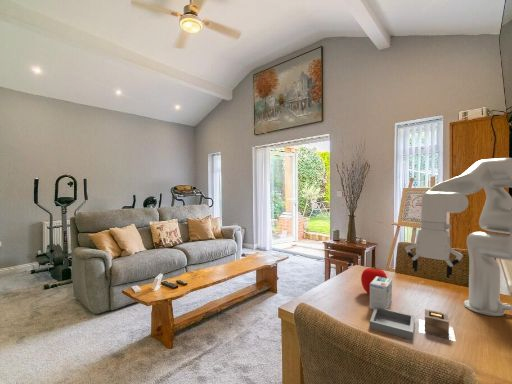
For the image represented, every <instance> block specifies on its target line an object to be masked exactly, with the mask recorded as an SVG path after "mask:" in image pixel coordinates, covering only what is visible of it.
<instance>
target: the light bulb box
mask: <svg viewBox="0 0 512 384" xmlns="http://www.w3.org/2000/svg"><path fill="white" fill-rule="evenodd" d="M392 295H393V279H392V278H388V277H387V278H382V277H377V276H376V277H375V278H374V280H373V281H372V282H371V283H370V294H369V309H372V310H374V309H375V307H380V308H384V309H388V310H389V307H390V305H391V303H393V301H392V300H393V299H392V298H393V297H392Z"/></svg>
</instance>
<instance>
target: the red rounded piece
mask: <svg viewBox="0 0 512 384" xmlns="http://www.w3.org/2000/svg"><path fill="white" fill-rule="evenodd" d="M376 276H377V277H382V278H388V275H387V273H386V272H385V271H384V270H382V268H377V267H376V266H374V267H367V268H365V269H364V270H363V271H362V273H361V275H360V281H361V285H362V288H363V289H364V291H365V293H367V294H368V295H370V283H371V282H372V281H373V280H374V278H375V277H376Z"/></svg>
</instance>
